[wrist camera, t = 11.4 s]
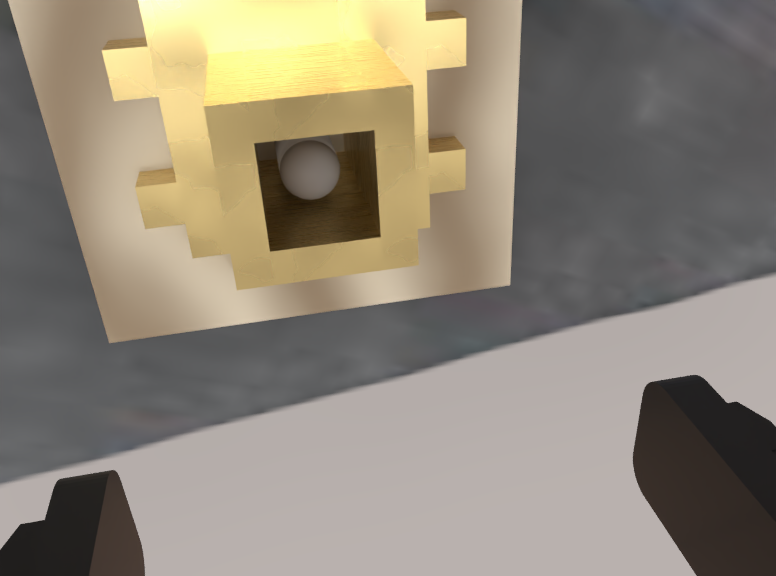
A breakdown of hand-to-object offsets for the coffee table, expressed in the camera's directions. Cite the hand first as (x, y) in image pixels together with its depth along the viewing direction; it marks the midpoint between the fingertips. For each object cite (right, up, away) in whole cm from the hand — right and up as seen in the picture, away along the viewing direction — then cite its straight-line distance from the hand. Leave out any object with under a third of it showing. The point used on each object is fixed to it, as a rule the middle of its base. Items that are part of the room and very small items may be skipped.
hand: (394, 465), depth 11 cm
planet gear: (-3, +9, +15) cm, 18 cm away
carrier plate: (-4, +10, +17) cm, 20 cm away
